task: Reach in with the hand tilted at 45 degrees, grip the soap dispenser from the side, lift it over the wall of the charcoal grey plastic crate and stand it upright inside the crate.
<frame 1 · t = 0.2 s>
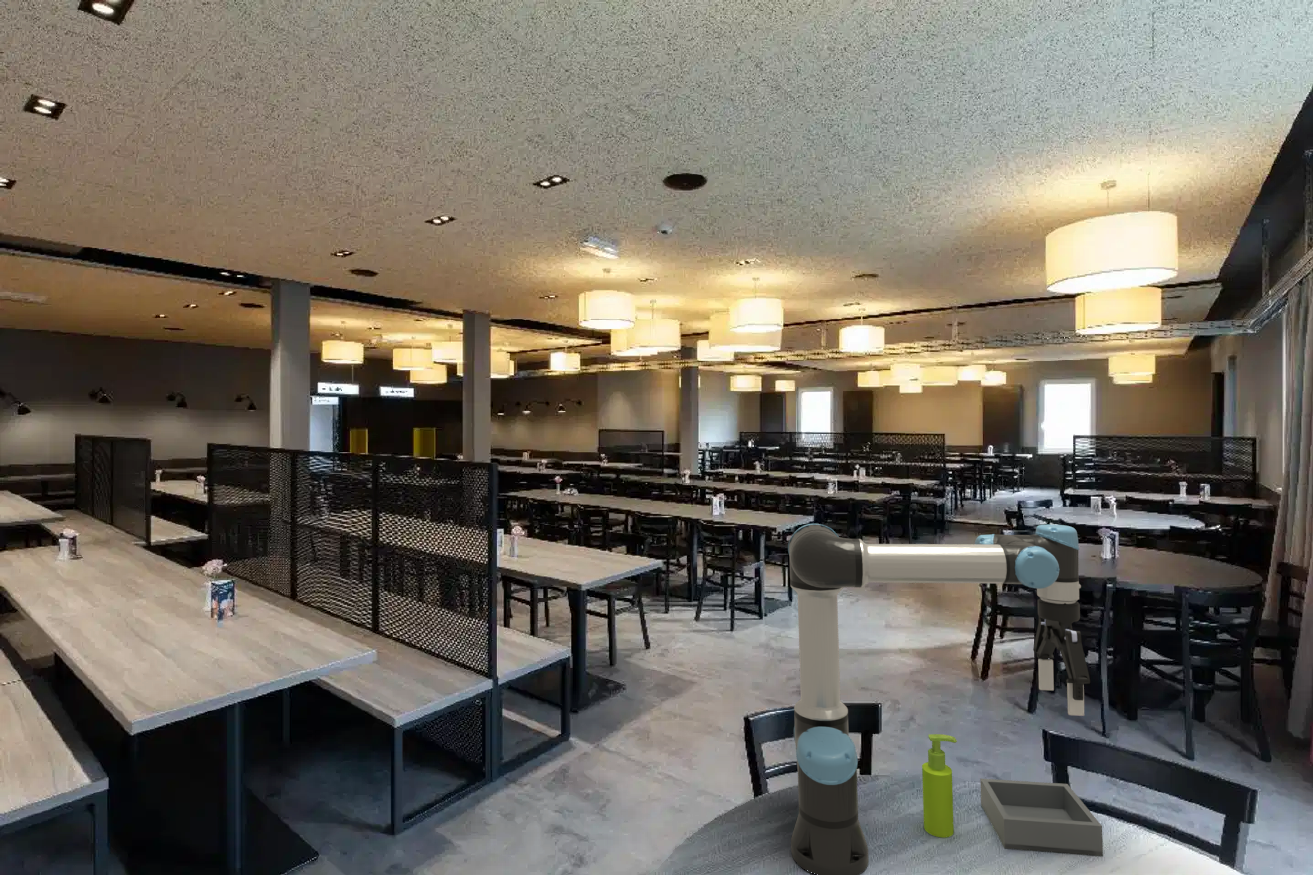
hand: (1060, 701, 138), 28 cm above the table, tool pointing down, fingers open, 13 cm apart
soap dispenser: (941, 830, 141), on the table
crate: (1037, 828, 140), on the table
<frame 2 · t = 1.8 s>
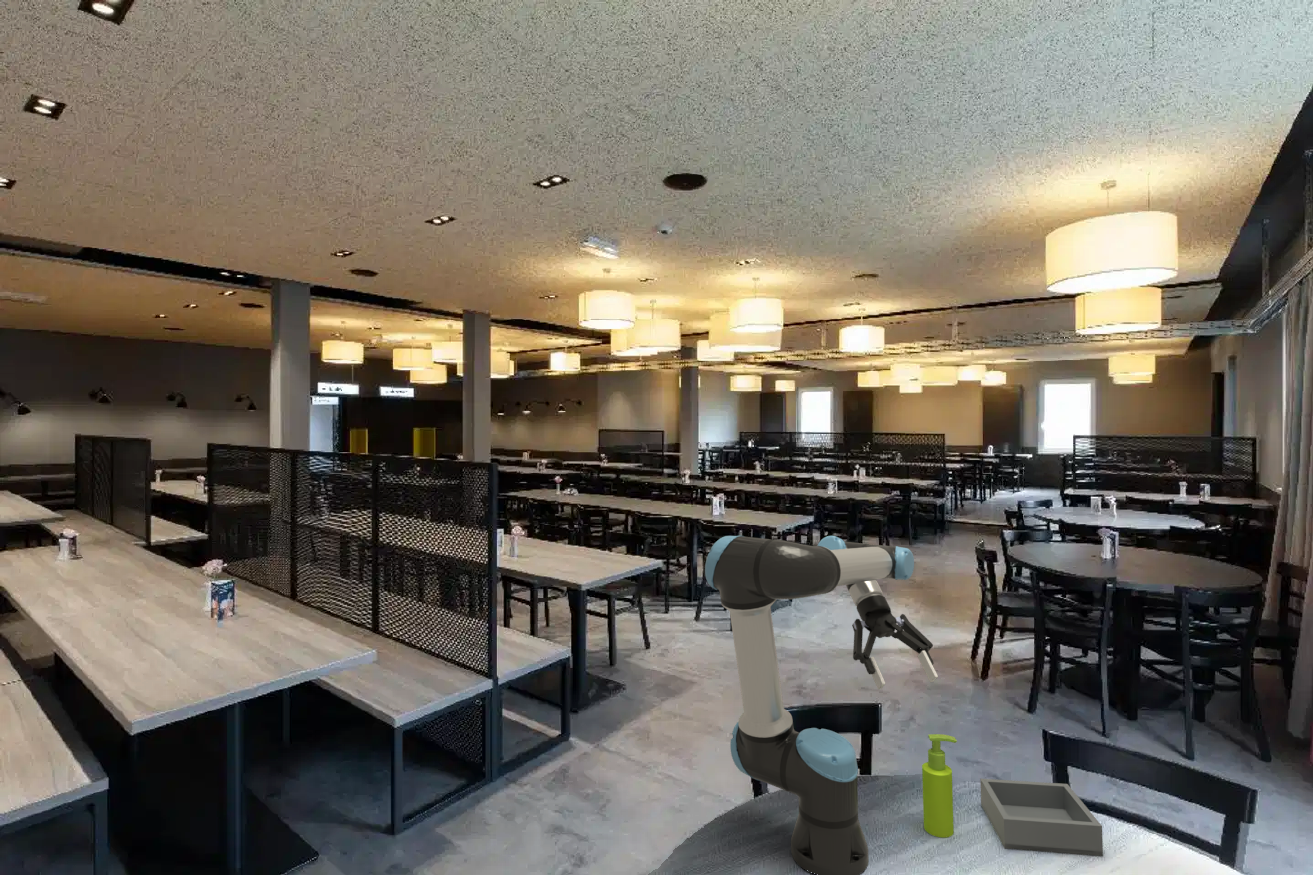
hand: (908, 683, 151), 28 cm above the table, tool tilted 45°, fingers open, 13 cm apart
nothing on the table moved.
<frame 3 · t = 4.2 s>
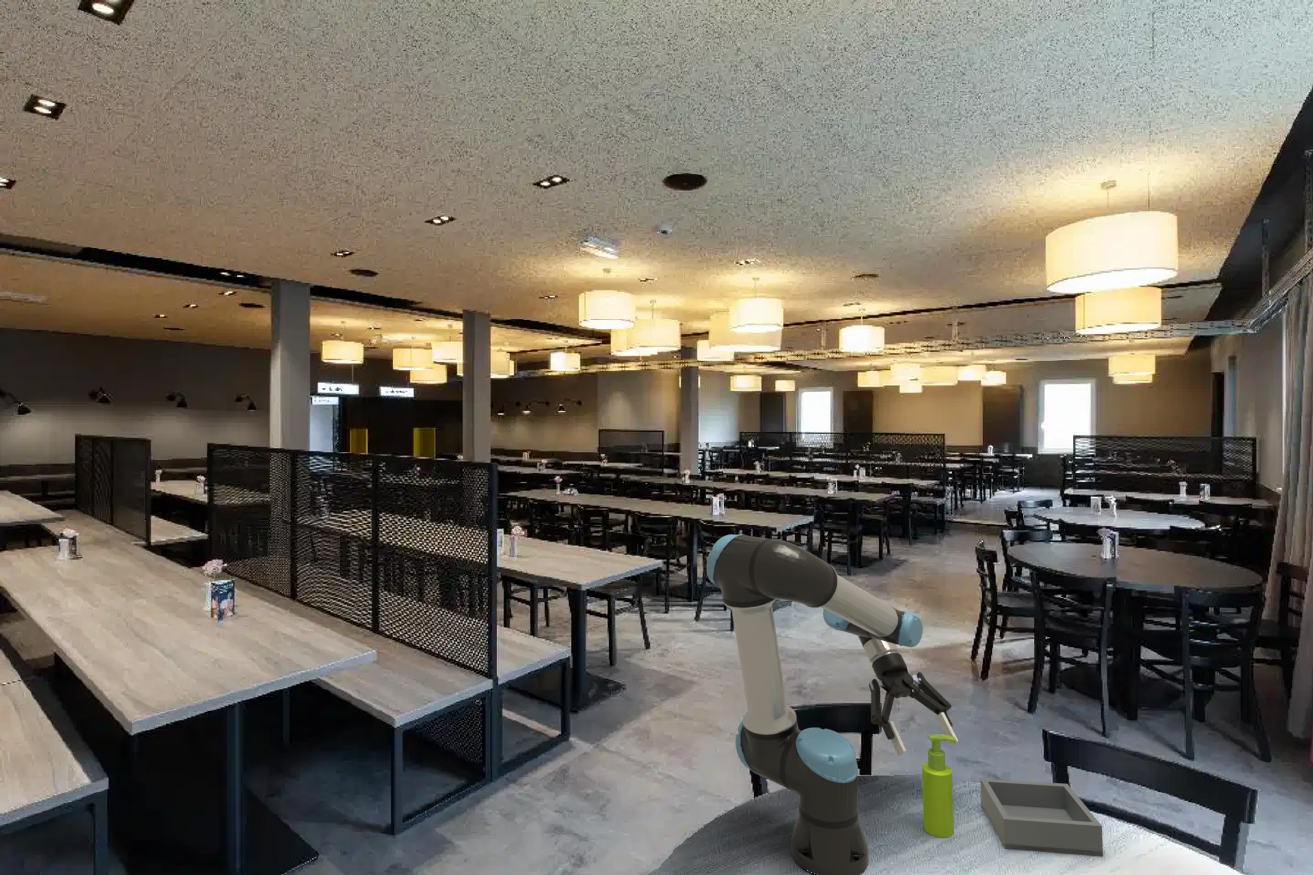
hand: (928, 748, 146), 15 cm above the table, tool tilted 45°, fingers open, 13 cm apart
nothing on the table moved.
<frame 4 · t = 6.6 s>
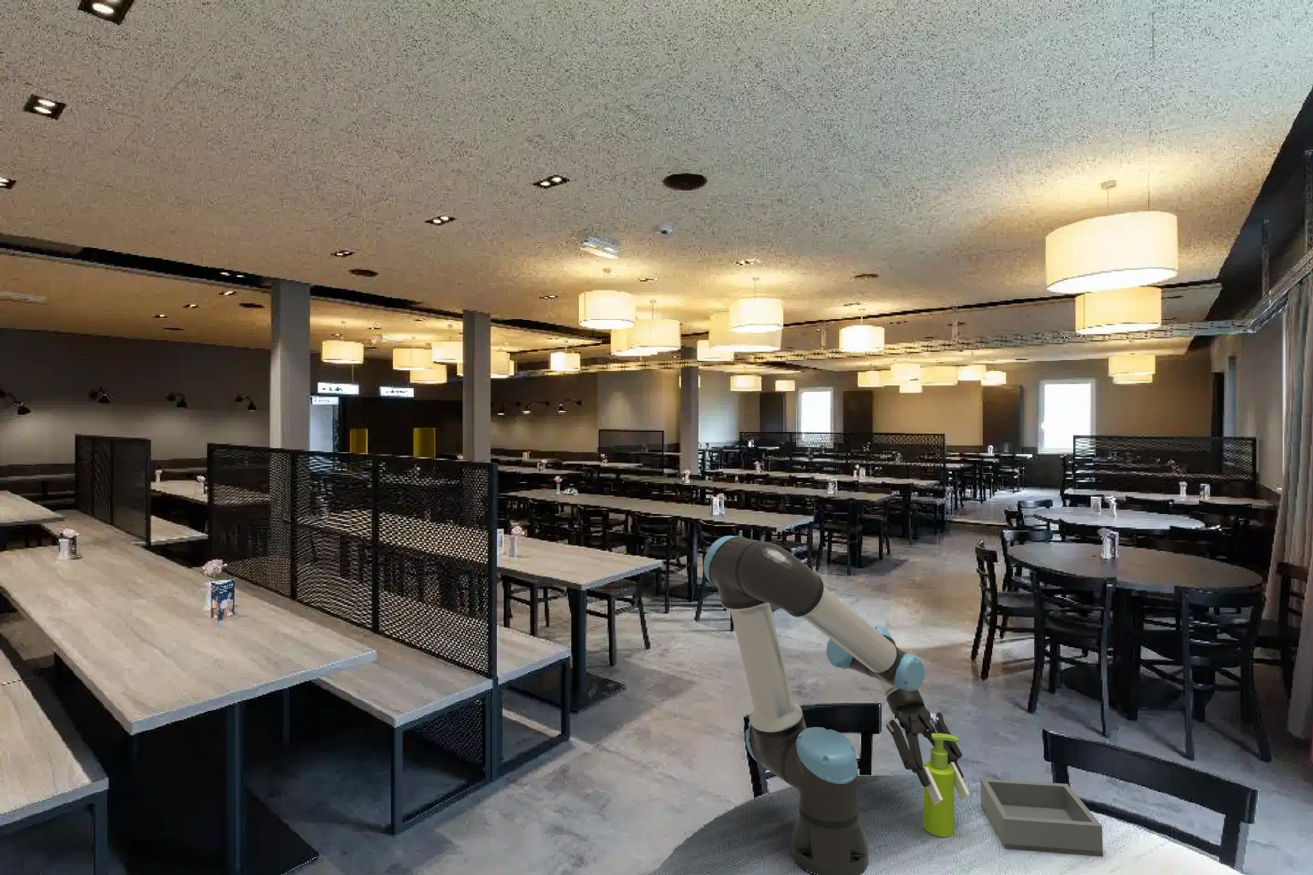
hand: (951, 799, 137), 8 cm above the table, tool tilted 45°, fingers closed on soap dispenser, 6 cm apart
soap dispenser: (941, 830, 141), on the table, touching gripper
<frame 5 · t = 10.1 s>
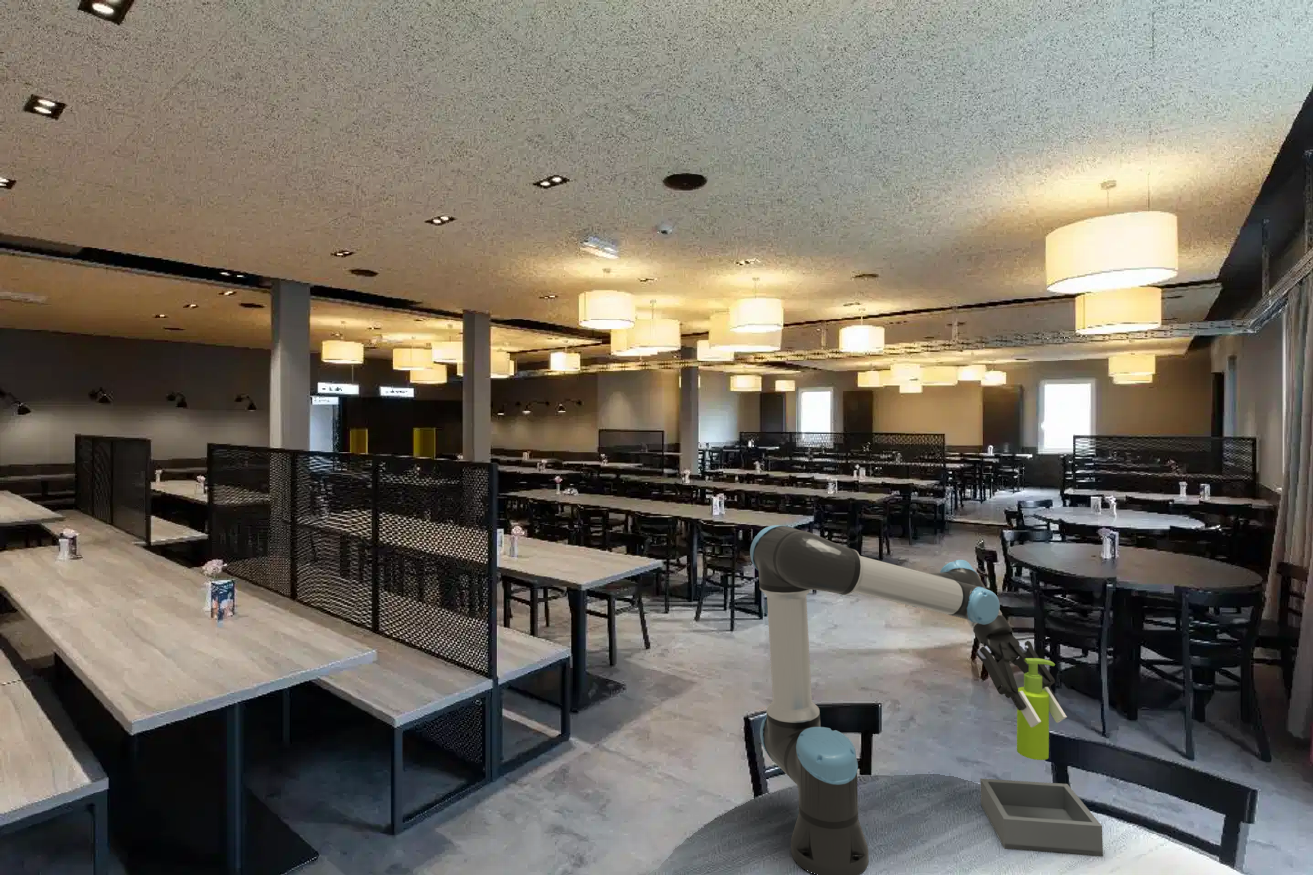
hand: (1048, 721, 137), 24 cm above the table, tool tilted 45°, fingers closed on soap dispenser, 6 cm apart
soap dispenser: (1035, 754, 140), point 16 cm above the table, touching gripper
when the fingers open (11 cm above the table, at t = 13.5 s): soap dispenser drops 1 cm, resting on crate.
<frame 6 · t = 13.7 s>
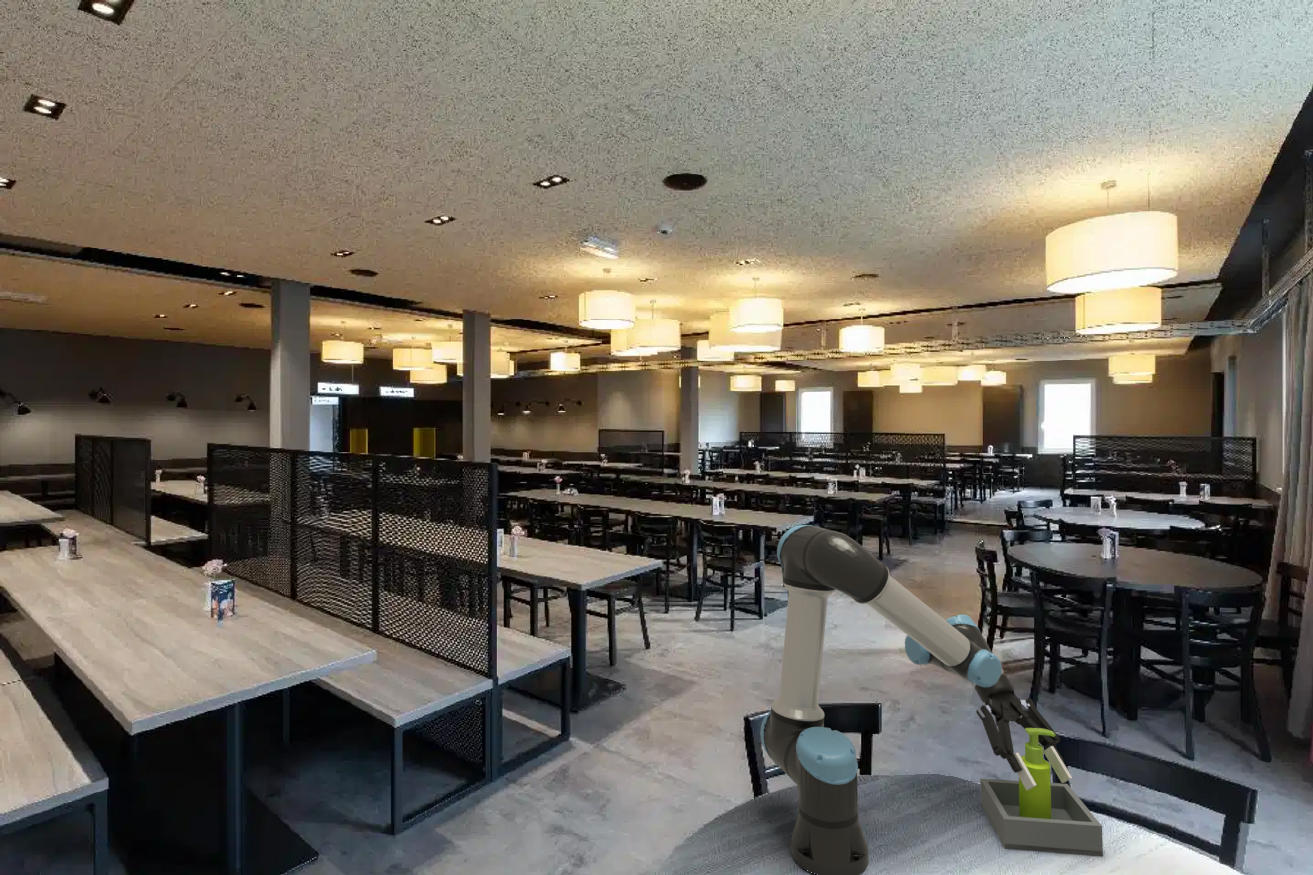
hand: (1049, 783, 137), 11 cm above the table, tool tilted 45°, fingers open, 8 cm apart
soap dispenser: (1038, 824, 140), point 1 cm above the table, touching crate
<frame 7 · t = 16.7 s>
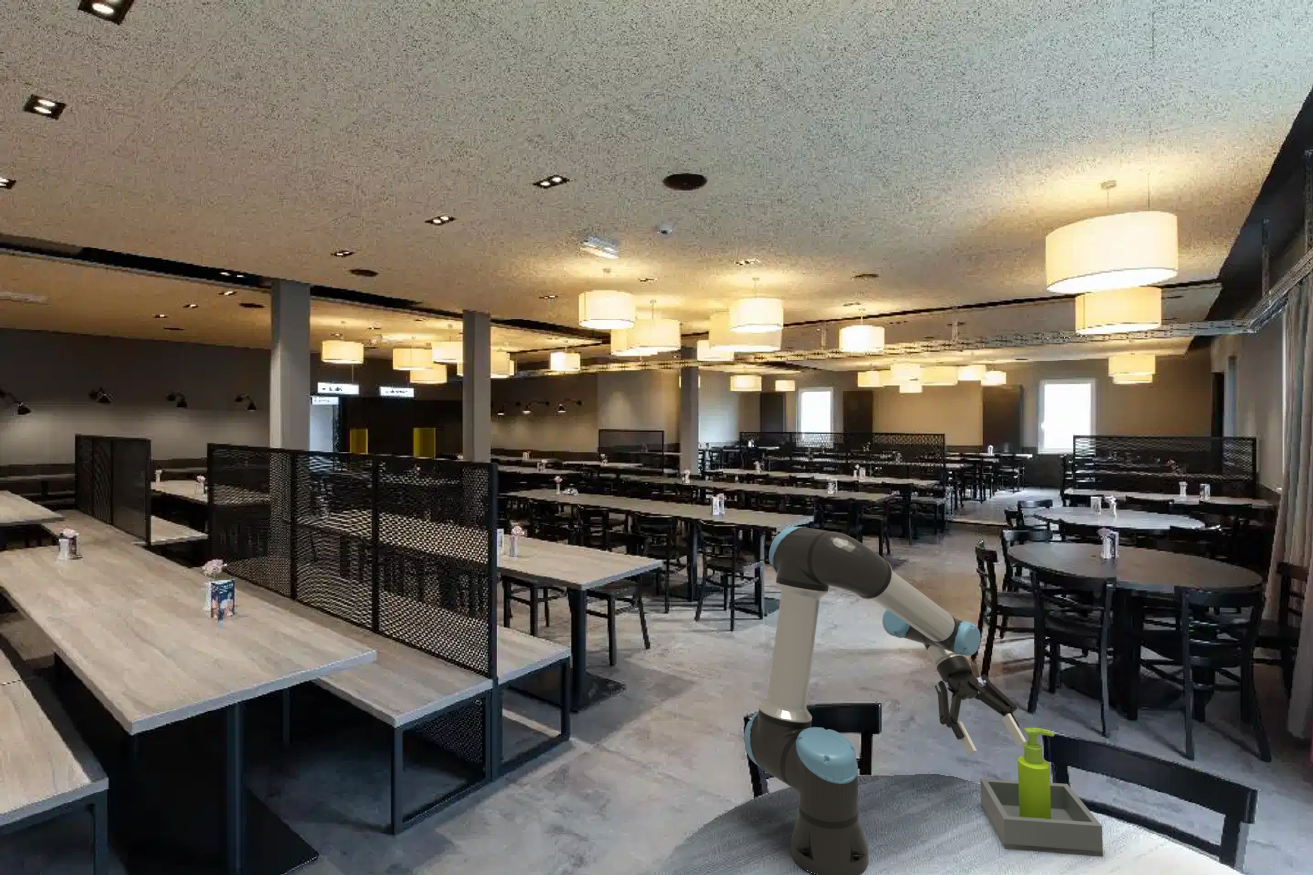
hand: (997, 748, 150), 12 cm above the table, tool tilted 45°, fingers open, 13 cm apart
nothing on the table moved.
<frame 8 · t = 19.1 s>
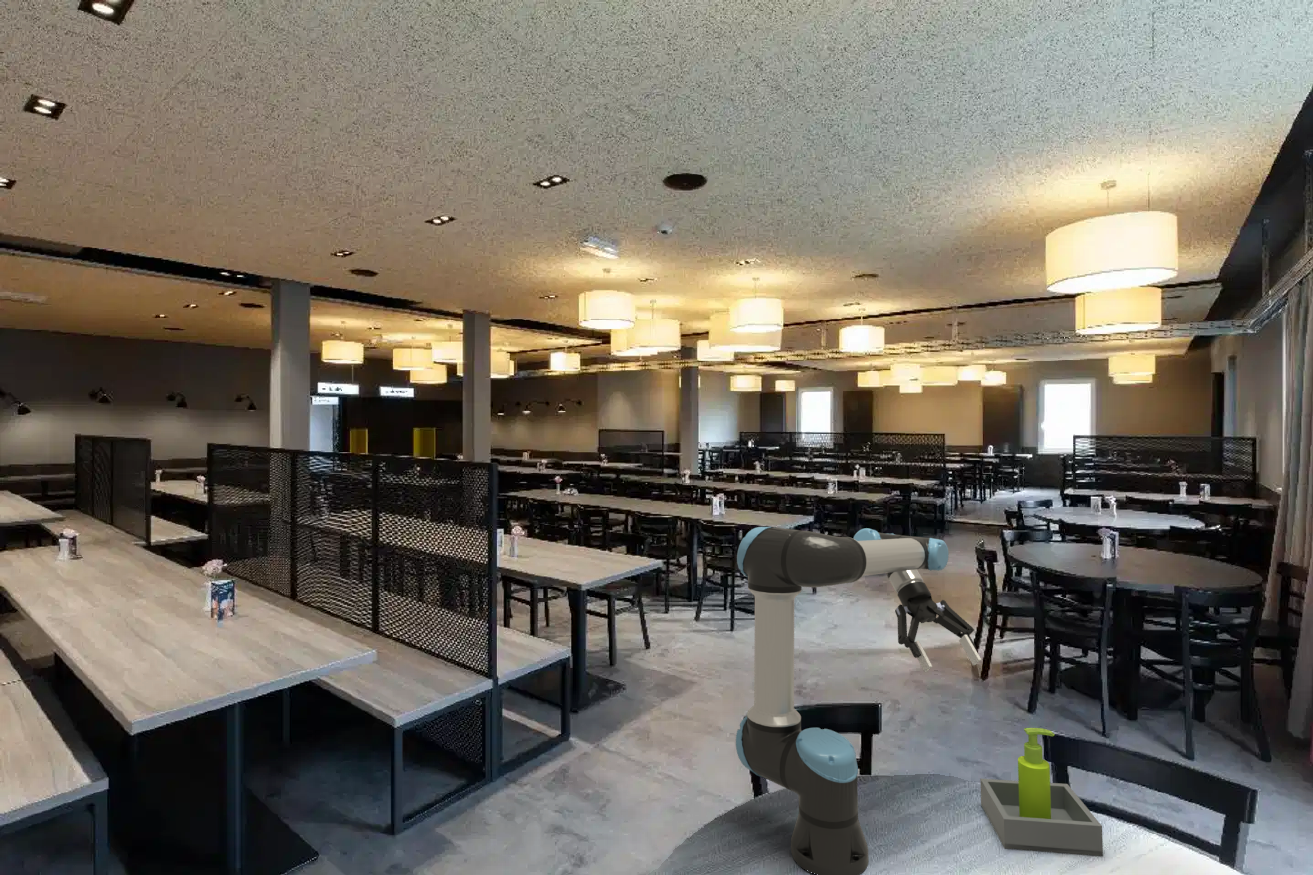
hand: (953, 665, 155), 30 cm above the table, tool tilted 45°, fingers open, 13 cm apart
nothing on the table moved.
at the end: soap dispenser inside the target area on the crate (0.2 cm from its centre), point 0.8 cm above the crate's base; soap dispenser tilted 0°; the gripper is holding nothing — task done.
